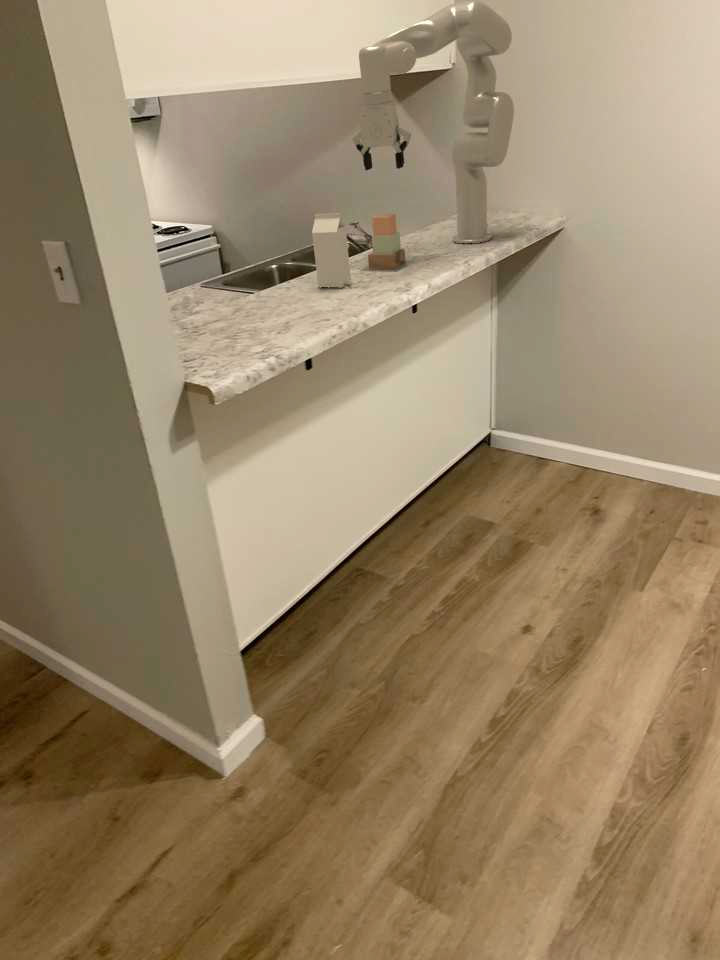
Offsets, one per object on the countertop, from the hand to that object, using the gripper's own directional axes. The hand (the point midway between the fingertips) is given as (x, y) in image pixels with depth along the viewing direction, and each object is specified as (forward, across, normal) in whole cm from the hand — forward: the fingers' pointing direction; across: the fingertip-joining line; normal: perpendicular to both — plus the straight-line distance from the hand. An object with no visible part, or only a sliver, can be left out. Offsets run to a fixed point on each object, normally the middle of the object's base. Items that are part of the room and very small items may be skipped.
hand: (384, 168), depth 203 cm
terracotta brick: (+17, 0, -3) cm, 17 cm away
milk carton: (+26, -8, -22) cm, 35 cm away
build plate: (+27, -1, -3) cm, 27 cm away
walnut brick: (+26, -1, -3) cm, 26 cm away
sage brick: (+22, 0, -3) cm, 22 cm away
